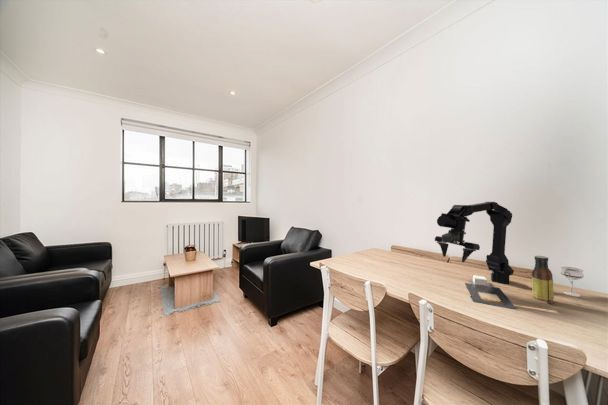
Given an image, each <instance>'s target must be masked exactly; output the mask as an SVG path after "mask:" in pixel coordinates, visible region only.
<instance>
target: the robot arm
mask: <svg viewBox="0 0 608 405" xmlns="http://www.w3.org/2000/svg"><path fill="white" fill-rule="evenodd" d="M484 211H485V212H486V214H487V215H488V216H489V220H490V222H491V224H492V225H493V230H492V231H493V232H492V243H491V246H492V247H491V253H489V254H486V257H485V258H486V260H485V263H486V265H487V268H488V270H489V271H491V273H490V280H491V282H493V283H497V284H502V285H510V276H512V275H514V272H515V271H514V269H513V268H512V266H510V262H509V259H508V257H507V256H506V254H505V253H506V240H507V239H506V238H507V227H508V226H509V225H510V224H511V223H512V217H513V213H512V212H511V211H510V210H508V208H506V207H504V206H502V205H500V204H499V203H498V202H496V201H485V202H479V203H474V204H473V203H472V204H453V205H452V207H451V208H450V209H449V211H448V212H447V213H443V212H441V214H440V215H439V216H438V217H437V219H436V223H437V225H438V227H441V228H442V227H443V228H447V229H448V232H446V233H443V234H442V235H441V236H435V237H434V241H435V242H436V244H438V245H439V246H440V249H441V254H442V257H443V258H446V256H447V251H448V248H449V244H452V245H456V246H457V245H458V246H461V247H463V248H462V251H463V252H462V256H461V257H462V258H461V263H465V262H466V260H468V258H469V257H470V255H471V254H472V253H474V252H477V251H480V248H481V246H480V245H479V243H475V242H469V241H465V240H464V237H465V235H466V234H467V232H465V230H466V225H467V224H466V223H467V222H468V223H469V222H471V220H470V219H469V218H468V217H469V216H471V215H473V213H474V214H475V213H479V212H484ZM449 228H450V229H449Z"/></svg>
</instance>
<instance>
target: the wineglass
mask: <svg viewBox="0 0 608 405" xmlns="http://www.w3.org/2000/svg"><path fill="white" fill-rule="evenodd" d="M560 269H561V270H559V271H560V275H561V276H562V277H563V278H565V279H567V280H568V281H569V282H570V283H569V284H570V291H563V294H565V295H568V296H572V297H581V295H580V294H578V293H575V292H573V287H574V285H573V284H574V282H575V281H579V280H582V279H583V278H584V273H583V272H584V269H580V268H576V267H570V266H560Z"/></svg>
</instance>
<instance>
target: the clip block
mask: <svg viewBox="0 0 608 405" xmlns="http://www.w3.org/2000/svg"><path fill="white" fill-rule="evenodd" d="M472 281H473V282H474V283H475V284H477V285H478V284H479V285H483V286H485V285H486V286H487V283H488V279H487V278H486V277H485V276H483V275H475V274H474V275H472Z"/></svg>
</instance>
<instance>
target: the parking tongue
mask: <svg viewBox="0 0 608 405" xmlns="http://www.w3.org/2000/svg"><path fill="white" fill-rule="evenodd" d="M469 282H470V284H475V283H474V282H473V279H472V280H471V279H469ZM477 285H479V284H477ZM484 286H486V285H484ZM487 286H490V287H491V284H490V283H489V282H487Z"/></svg>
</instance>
